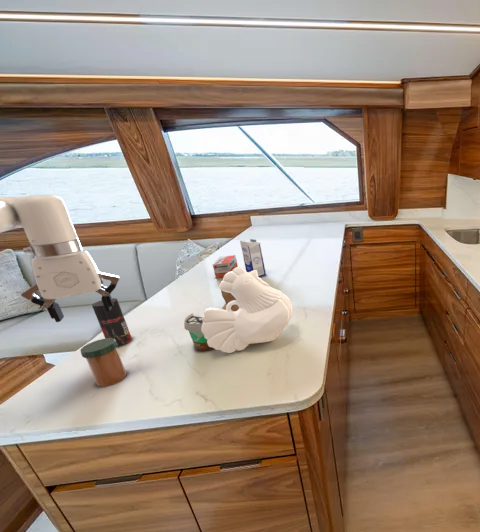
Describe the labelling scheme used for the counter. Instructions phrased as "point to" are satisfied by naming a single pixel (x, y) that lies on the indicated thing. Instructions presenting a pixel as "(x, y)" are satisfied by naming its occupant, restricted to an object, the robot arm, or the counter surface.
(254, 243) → the milk carton
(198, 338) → the food container
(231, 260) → the medicine box
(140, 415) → the counter surface
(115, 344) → the lid
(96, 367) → the jar
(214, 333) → the decorative rooster
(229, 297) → the stone cup
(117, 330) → the deodorant
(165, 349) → the counter surface
